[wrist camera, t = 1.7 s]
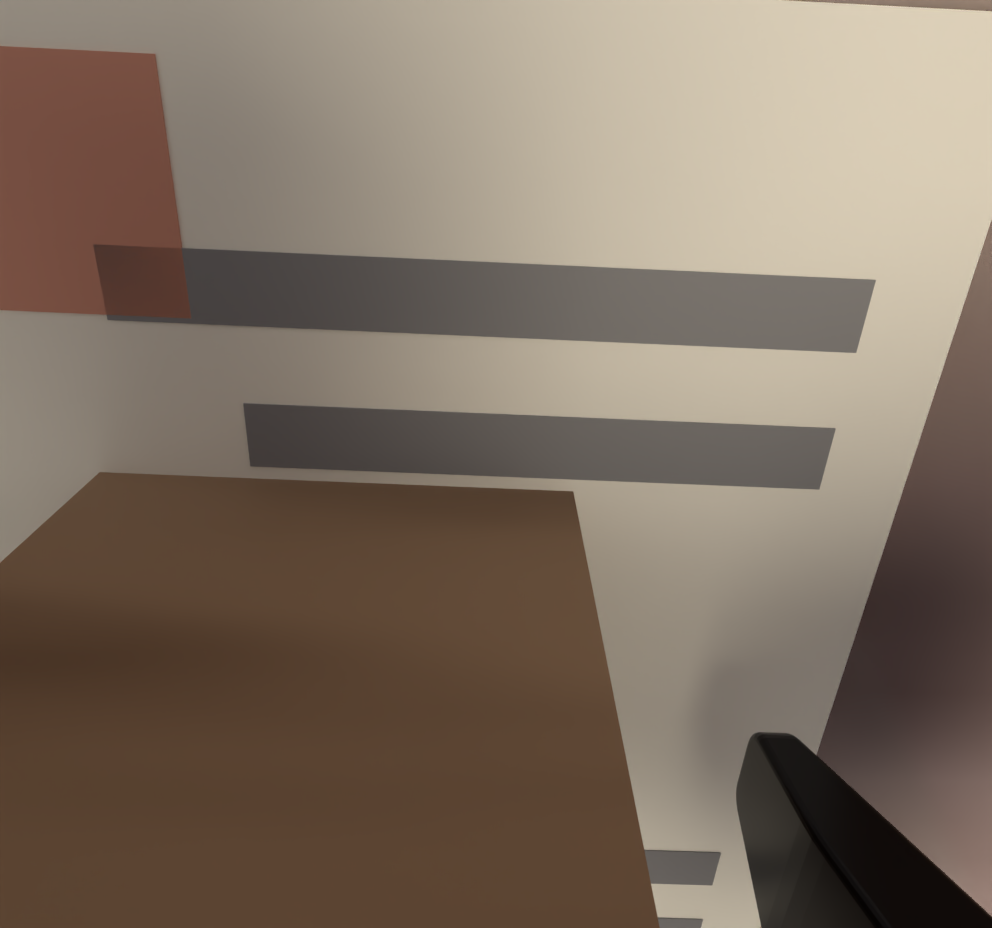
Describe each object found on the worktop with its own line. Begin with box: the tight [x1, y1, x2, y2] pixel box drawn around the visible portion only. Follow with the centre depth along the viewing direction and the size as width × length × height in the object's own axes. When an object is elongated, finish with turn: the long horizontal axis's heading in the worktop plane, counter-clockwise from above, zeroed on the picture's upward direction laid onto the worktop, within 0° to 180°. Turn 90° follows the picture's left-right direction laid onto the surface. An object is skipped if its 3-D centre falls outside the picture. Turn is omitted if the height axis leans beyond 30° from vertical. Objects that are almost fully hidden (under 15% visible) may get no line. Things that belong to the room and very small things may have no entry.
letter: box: [0, 0, 992, 928], centre depth 9 cm, size 14×10×1 cm
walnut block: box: [0, 472, 660, 928], centre depth 7 cm, size 5×5×5 cm
